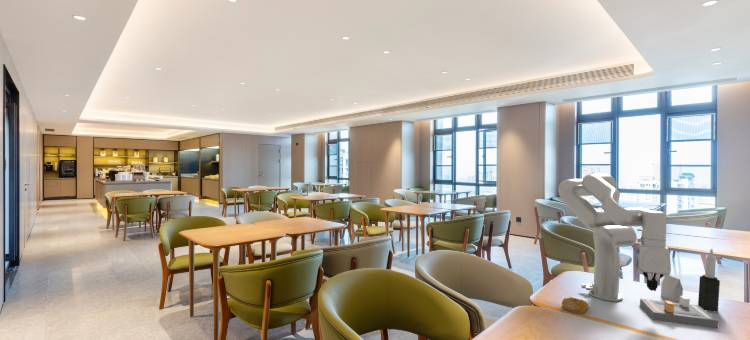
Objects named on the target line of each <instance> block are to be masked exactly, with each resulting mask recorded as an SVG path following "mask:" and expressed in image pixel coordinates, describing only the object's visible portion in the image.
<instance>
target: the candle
mask: <svg viewBox="0 0 750 340" xmlns="http://www.w3.org/2000/svg"><path fill="white" fill-rule="evenodd" d="M713 251H714V249H712V248H711V249H709V253H708V255H706V259H705V269H704V270H705V274H702V275H701V276H700V275H699V287H698V301H697V305H698V306H700V307H701V308H702V309H704V310H705V311H706V312H708V311H709V312H715V313H716V312H719V301H720V300H719V299H720V298H719V297H720V285H721V280H719V279H718V277H717V276H716V263H717V258H716V256H715V255H714V252H713Z"/></svg>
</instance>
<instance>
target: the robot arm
mask: <svg viewBox="0 0 750 340" xmlns="http://www.w3.org/2000/svg"><path fill="white" fill-rule="evenodd" d="M616 182H617V181H616V180H615V178H614V177H613V176H612V175H610V174H607V173H592V174H591V173H590V174H587V175H585V176H584V177H582V178H569V179H564V180H563V181H561V182H560V183H559V186H558V195H559V198H560V199H561V201H562V203H563V204H564V206H566V207H567V208H568V209H569V210H570V211H571V212H572V213H574V216H576V218H577V219H579V221H580V222H581V223H582V224H583V225H584V226H585V228H587V229H589V230H590V231H593V235H592V239H593V244H594V245H593V246H594V265H593V266H594V267H593V268H594V271H593V282H591V283H589V284H585V283H581V289H585V290H586V291H589V292H588V293H589V295H590V296H592V297H594V298H596V299H598V300H602V301H607V302H620V301H622V300H623V297H624V296H623V295H622V294H621V293H620V292H619V291H620V288H619V287H620V275H621V274H620V272H621V271H620V269H621V256H620V253H619V252H618V249H617V248H624V247H625V248H626V247H632V246H633V245H635V244H636V242H637V243H640V244H639V245H638V249H637V253H636V263H635V265H636V266H635V267H636V269H635V272H636V274H639V275H642V276H644V277H645V278H646V287H647V289H648V290H650V291H651V292H652V291H654V292H656V291H657V289H658V285H659V284H658V282H659V281H660V279H662V278H664V277H665V276H669V275H670V273H671V270H672V268H671V267H672V263H671V256H670V255H671V253H670V250H669V247H667V246H666V245H667V243H666V242H667V216H668V215H667V214H666V212H664V211H662V210H661V211H660V210H651V209H650V208H649V209H648V208H644V207H623V206H622V205H620V204H618V203H617V201H618V200H619V199H620V196H621V192H620V191H619V190H618V188H616V187H617V183H616ZM592 196H593V197H594V198H595V199H596V200H597V201H598V202H599V203H601V209H600V208H596V207H595V206H593V204H591V202H590V201H588V200H587V199H586V198H584V197H592ZM633 227H641V236H640V238H638V236H637V233H636V231H635V230H634V228H633ZM670 276H671V275H670Z"/></svg>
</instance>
